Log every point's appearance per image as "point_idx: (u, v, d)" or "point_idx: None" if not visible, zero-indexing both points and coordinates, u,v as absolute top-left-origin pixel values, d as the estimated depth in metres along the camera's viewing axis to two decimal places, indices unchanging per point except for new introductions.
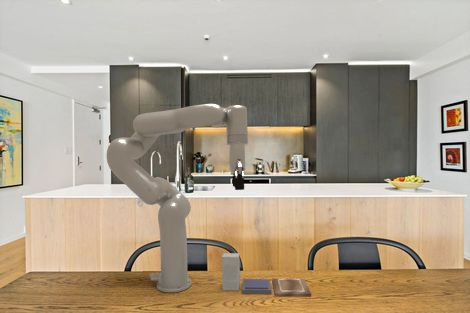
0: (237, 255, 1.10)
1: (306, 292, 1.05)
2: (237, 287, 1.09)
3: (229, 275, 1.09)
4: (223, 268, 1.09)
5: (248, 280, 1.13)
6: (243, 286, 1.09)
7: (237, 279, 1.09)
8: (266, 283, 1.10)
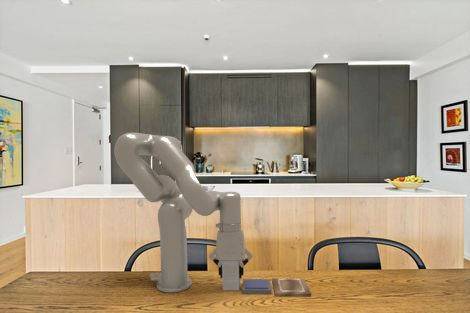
0: None
1: (306, 292, 1.05)
2: (237, 287, 1.09)
3: (229, 275, 1.09)
4: (223, 268, 1.09)
5: (248, 280, 1.13)
6: (243, 286, 1.09)
7: (237, 279, 1.09)
8: (266, 283, 1.10)
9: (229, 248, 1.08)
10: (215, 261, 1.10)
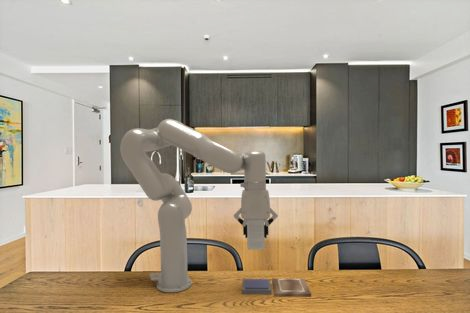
0: None
1: (306, 292, 1.05)
2: (262, 246, 1.08)
3: (254, 234, 1.08)
4: (248, 227, 1.09)
5: (248, 280, 1.13)
6: (243, 286, 1.09)
7: (262, 238, 1.08)
8: (266, 283, 1.10)
9: (255, 207, 1.07)
10: (240, 220, 1.10)
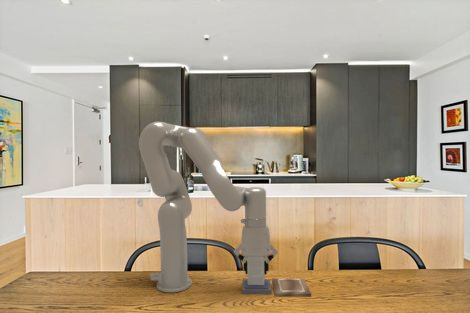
0: None
1: (306, 292, 1.05)
2: (262, 282, 1.08)
3: (254, 270, 1.09)
4: (248, 263, 1.09)
5: None
6: (243, 286, 1.09)
7: (262, 274, 1.08)
8: (266, 283, 1.10)
9: (255, 244, 1.08)
10: (240, 257, 1.10)
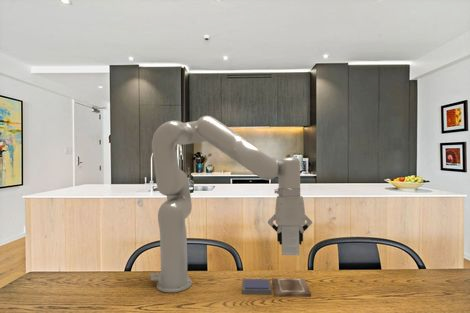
0: None
1: (306, 292, 1.05)
2: (297, 252, 1.08)
3: (289, 240, 1.08)
4: (283, 233, 1.08)
5: (248, 280, 1.13)
6: (243, 286, 1.09)
7: (297, 244, 1.08)
8: (266, 283, 1.10)
9: (290, 213, 1.07)
10: (274, 227, 1.09)
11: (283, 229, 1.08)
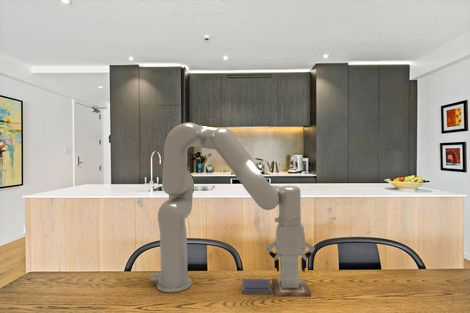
0: None
1: (306, 292, 1.05)
2: (297, 284, 1.08)
3: (288, 272, 1.08)
4: (282, 265, 1.08)
5: (248, 280, 1.13)
6: (243, 286, 1.09)
7: (297, 276, 1.08)
8: (266, 283, 1.10)
9: (290, 243, 1.07)
10: (271, 254, 1.09)
11: (282, 262, 1.08)
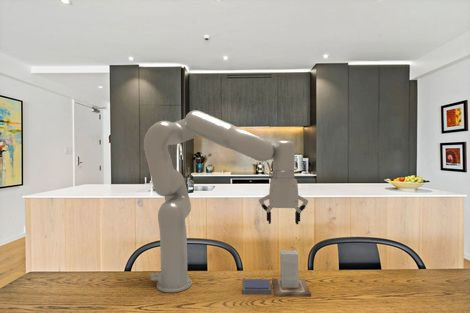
0: (296, 252, 1.09)
1: (306, 292, 1.05)
2: (297, 284, 1.08)
3: (288, 273, 1.08)
4: (282, 265, 1.08)
5: (248, 280, 1.13)
6: (243, 286, 1.09)
7: (297, 276, 1.08)
8: (266, 283, 1.10)
9: (283, 195, 1.08)
10: (264, 206, 1.11)
11: (282, 262, 1.08)
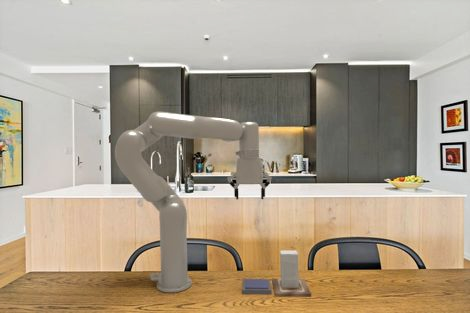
0: (296, 252, 1.09)
1: (306, 292, 1.05)
2: (297, 284, 1.08)
3: (288, 273, 1.08)
4: (282, 265, 1.08)
5: (248, 280, 1.13)
6: (243, 286, 1.09)
7: (297, 276, 1.08)
8: (266, 283, 1.10)
9: (248, 173, 1.17)
10: (231, 184, 1.20)
11: (282, 262, 1.08)
